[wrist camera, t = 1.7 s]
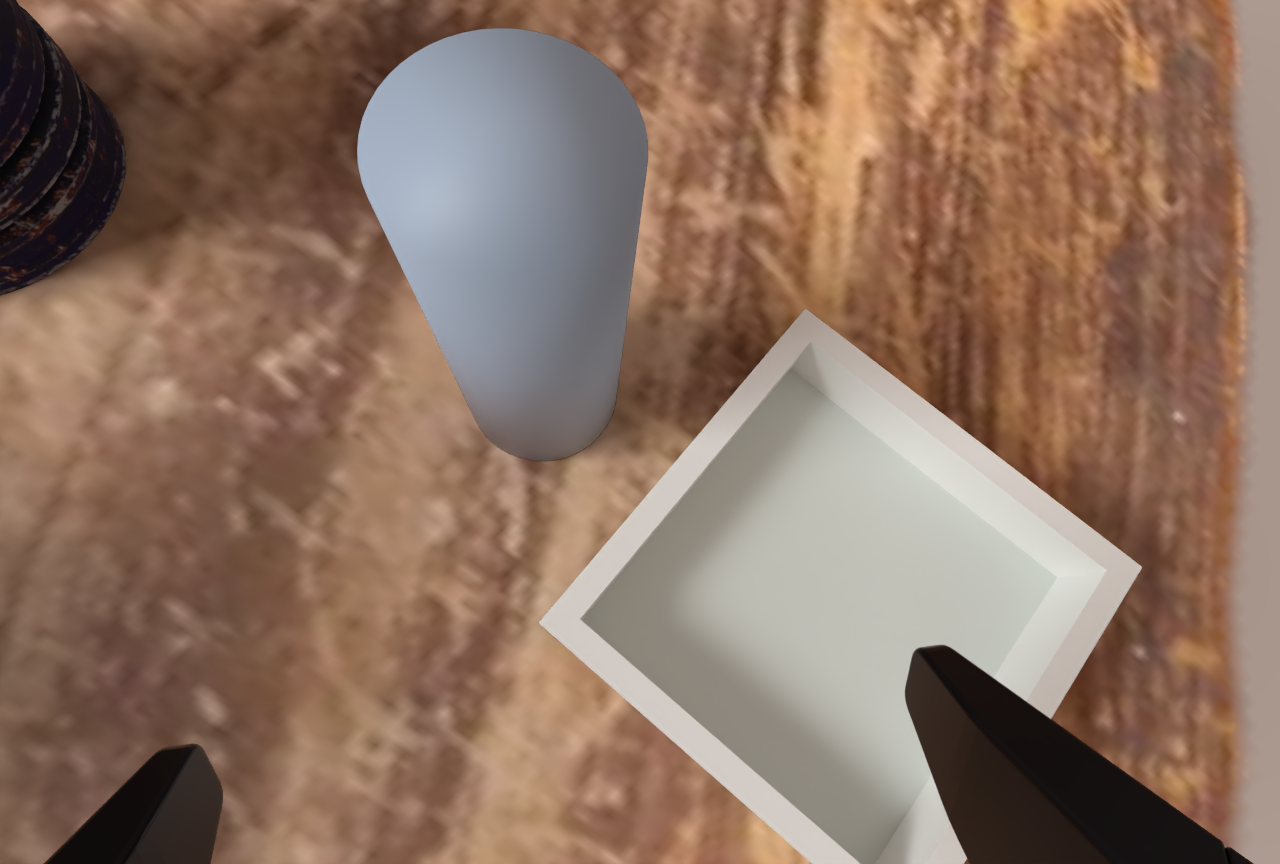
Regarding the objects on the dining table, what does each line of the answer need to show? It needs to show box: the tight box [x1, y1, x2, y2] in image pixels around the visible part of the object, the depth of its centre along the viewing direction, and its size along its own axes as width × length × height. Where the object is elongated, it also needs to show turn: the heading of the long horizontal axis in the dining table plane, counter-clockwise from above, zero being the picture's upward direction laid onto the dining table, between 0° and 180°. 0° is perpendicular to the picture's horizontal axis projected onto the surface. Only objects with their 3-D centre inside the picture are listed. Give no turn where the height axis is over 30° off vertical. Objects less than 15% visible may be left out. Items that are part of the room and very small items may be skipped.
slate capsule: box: [357, 28, 648, 461], centre depth 19 cm, size 5×5×13 cm
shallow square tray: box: [539, 308, 1142, 864], centre depth 23 cm, size 13×13×3 cm
